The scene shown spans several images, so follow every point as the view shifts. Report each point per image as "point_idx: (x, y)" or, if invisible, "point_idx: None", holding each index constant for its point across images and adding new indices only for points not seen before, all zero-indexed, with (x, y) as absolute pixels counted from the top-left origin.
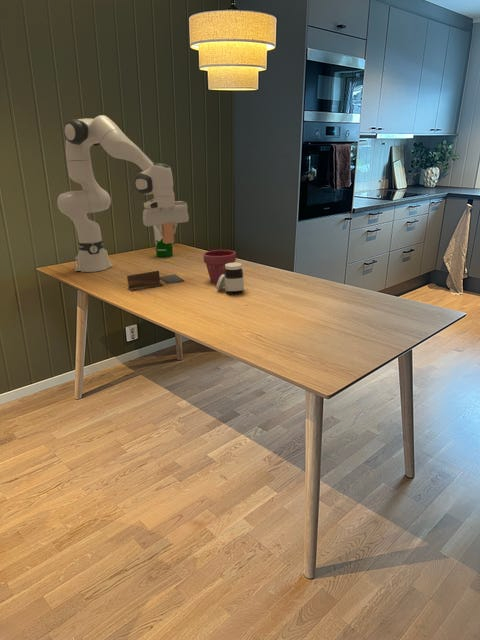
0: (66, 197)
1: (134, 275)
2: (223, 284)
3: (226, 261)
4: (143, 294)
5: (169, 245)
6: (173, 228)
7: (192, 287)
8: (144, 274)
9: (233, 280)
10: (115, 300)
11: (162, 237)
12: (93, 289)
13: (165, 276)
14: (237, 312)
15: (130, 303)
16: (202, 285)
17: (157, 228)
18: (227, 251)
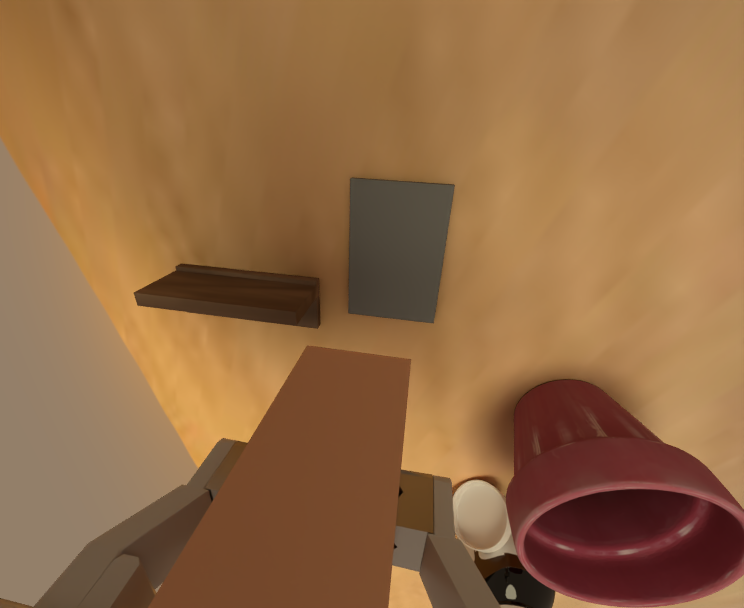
0: None
1: (170, 308)
2: (490, 501)
3: (576, 566)
4: (229, 366)
5: None
6: (432, 572)
7: (412, 408)
8: (221, 313)
9: None
10: (137, 362)
11: (284, 390)
12: (30, 168)
13: (384, 197)
14: (396, 588)
15: (182, 412)
16: (458, 413)
17: (124, 537)
18: (742, 531)
